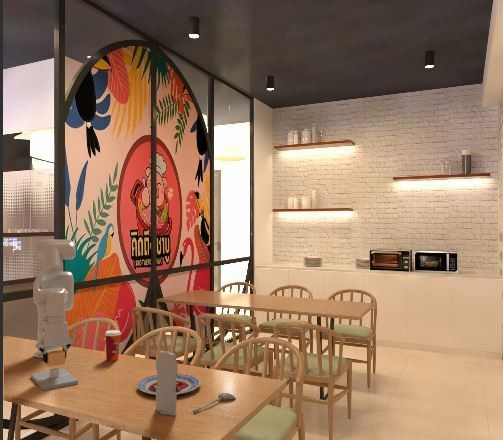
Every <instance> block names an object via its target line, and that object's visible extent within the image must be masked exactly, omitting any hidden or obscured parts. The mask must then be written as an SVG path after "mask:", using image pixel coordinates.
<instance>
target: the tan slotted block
mask: <svg viewBox="0 0 503 440" xmlns="http://www.w3.org/2000/svg"><path fill="white" fill-rule="evenodd" d="M47 354H48V362H47V363H45V362H44V361H43V362H44V364H45V365H46V366H47V367H56V366H61V365H65V364H66V358H65V352H64V351H63V348H58V349H55V350H48V351H47Z"/></svg>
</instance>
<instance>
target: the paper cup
mask: <svg viewBox="0 0 503 440" xmlns="http://www.w3.org/2000/svg"><path fill="white" fill-rule="evenodd" d="M121 334H122V333H121V331H120V330H116V329H110V330H107V331H105V333H104V335H105V357H106V358H105V359H106V361H107V362H116V361H118V360H119V356H120V355H119V352H120V342H121V341H120V340H121Z"/></svg>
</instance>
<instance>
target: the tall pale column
mask: <svg viewBox="0 0 503 440" xmlns="http://www.w3.org/2000/svg"><path fill="white" fill-rule="evenodd" d="M176 359H177V358H176V354H175V353H172V352H170V351H165V350H161V351H159V352H158V356H157V358H156V360H155V369H156V375H157V389H156V395H155V411H156V412H158V413H159V414H161V415H167V416H170V417H176V416H177V394H176V375H177V374H179V373H178V370H179V364H178V362H177V360H176Z"/></svg>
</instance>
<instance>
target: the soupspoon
mask: <svg viewBox="0 0 503 440" xmlns="http://www.w3.org/2000/svg"><path fill="white" fill-rule="evenodd" d="M217 397H218V398H217V399H214V400H212V401H209V402H208V403H206V404H204V405H202V406H201V407H198V408H196V409H193V410H192V412H193V413H194V414H197V413H198V412H200V411H201V410H202V409H204V408H206V407H208V406H210V405H211V404H214V403H216V402H218V401H222V400H223V401H224V400H225V401H226V400H233V399H234V400H235V399H236V396H235V395H233V394H231V393H229V392H221V393H220V394H218V396H217Z"/></svg>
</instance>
